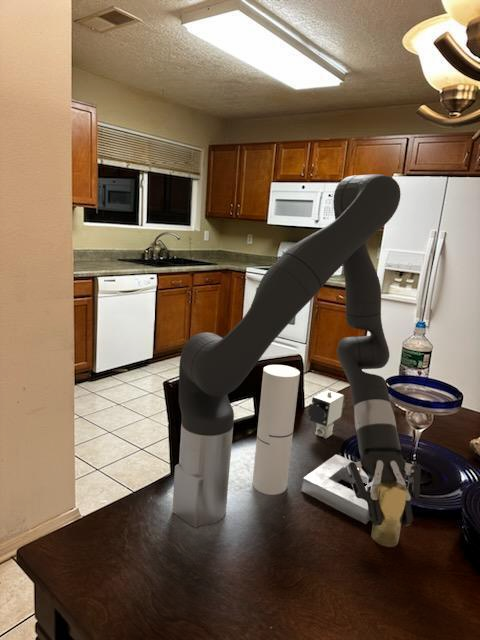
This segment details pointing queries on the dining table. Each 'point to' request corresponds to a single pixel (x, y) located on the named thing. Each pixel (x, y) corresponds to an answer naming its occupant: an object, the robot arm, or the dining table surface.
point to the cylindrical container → (275, 428)
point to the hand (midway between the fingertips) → (392, 524)
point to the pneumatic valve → (326, 411)
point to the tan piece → (389, 513)
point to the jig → (336, 488)
